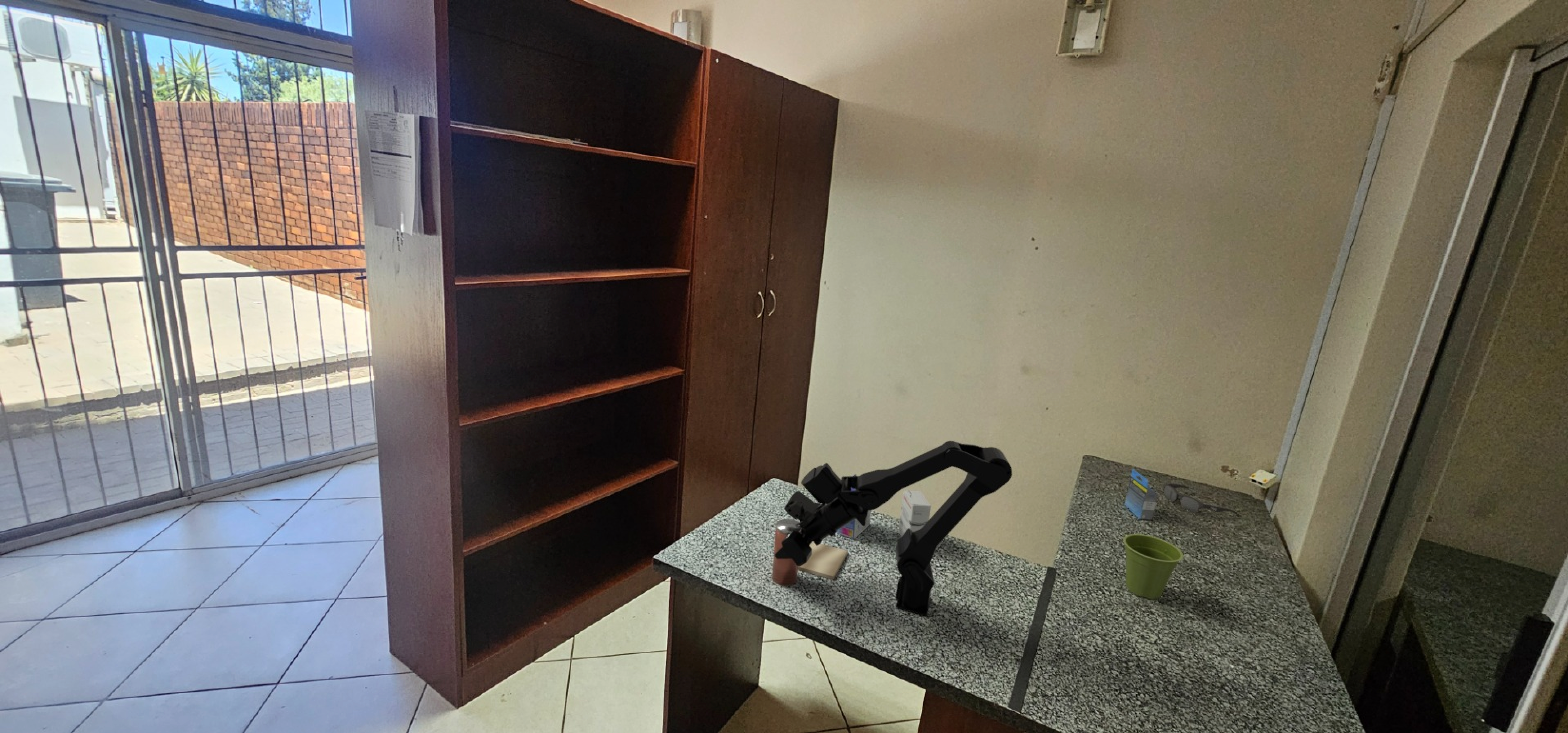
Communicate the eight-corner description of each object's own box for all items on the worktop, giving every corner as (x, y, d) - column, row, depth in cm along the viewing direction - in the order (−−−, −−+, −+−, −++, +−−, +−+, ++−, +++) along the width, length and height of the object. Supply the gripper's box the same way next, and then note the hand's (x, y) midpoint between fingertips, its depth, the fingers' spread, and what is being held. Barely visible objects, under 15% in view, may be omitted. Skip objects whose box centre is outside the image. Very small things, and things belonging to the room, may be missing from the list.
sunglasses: (1153, 494, 196) (1158, 480, 194) (1193, 497, 200) (1198, 483, 199) (1198, 519, 180) (1203, 504, 179) (1240, 522, 185) (1246, 507, 183)
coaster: (847, 553, 147) (847, 550, 147) (833, 579, 136) (833, 576, 136) (800, 541, 151) (801, 538, 151) (783, 565, 140) (783, 562, 140)
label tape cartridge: (1152, 520, 177) (1162, 481, 174) (1139, 519, 177) (1148, 480, 174) (1136, 506, 185) (1144, 468, 182) (1123, 505, 185) (1131, 467, 182)
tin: (800, 575, 137) (805, 522, 134) (792, 588, 132) (796, 534, 129) (777, 568, 139) (781, 516, 136) (767, 581, 134) (771, 528, 131)
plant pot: (1122, 569, 149) (1132, 528, 146) (1178, 593, 141) (1189, 549, 138) (1106, 587, 141) (1116, 544, 138) (1163, 613, 133) (1175, 567, 130)
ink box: (926, 548, 152) (932, 505, 149) (906, 548, 152) (912, 505, 149) (915, 531, 160) (921, 490, 158) (897, 530, 160) (902, 489, 157)
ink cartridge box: (851, 518, 165) (857, 468, 161) (870, 525, 162) (876, 474, 158) (834, 533, 156) (839, 481, 153) (853, 540, 154) (859, 487, 150)
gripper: (823, 469, 137) (774, 503, 143) (794, 503, 120) (740, 540, 126) (853, 509, 136) (803, 541, 143) (829, 549, 119) (773, 583, 126)
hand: (780, 550), depth 134 cm, fingers closed on tin, 6 cm apart
